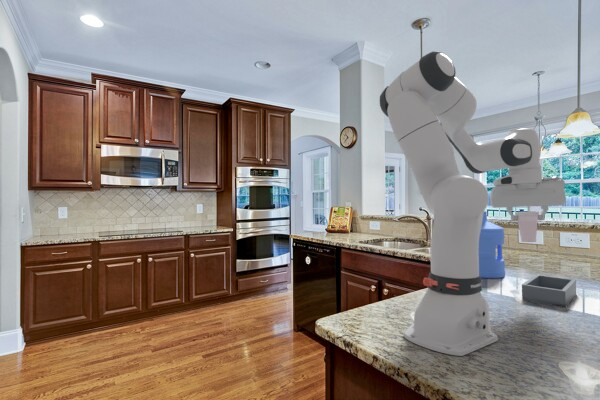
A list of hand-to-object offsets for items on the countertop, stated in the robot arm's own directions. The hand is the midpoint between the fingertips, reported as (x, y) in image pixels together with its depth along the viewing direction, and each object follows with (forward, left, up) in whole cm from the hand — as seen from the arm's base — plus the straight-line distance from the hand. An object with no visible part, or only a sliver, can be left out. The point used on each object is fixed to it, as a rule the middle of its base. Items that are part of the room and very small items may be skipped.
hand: (527, 220), depth 103 cm
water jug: (+28, +23, -26) cm, 45 cm away
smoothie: (0, 0, -7) cm, 7 cm away
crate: (+8, -4, -26) cm, 28 cm away
